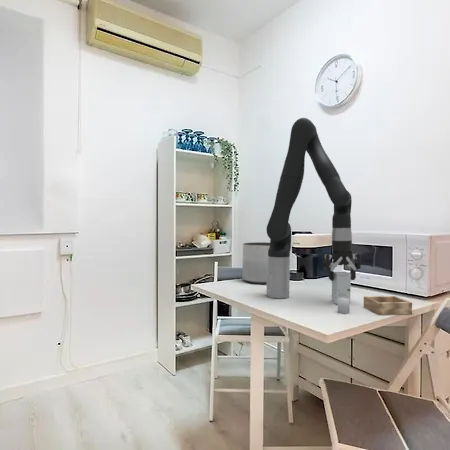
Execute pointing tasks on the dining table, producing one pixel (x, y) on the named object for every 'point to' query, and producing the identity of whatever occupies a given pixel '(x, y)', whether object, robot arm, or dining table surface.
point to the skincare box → (341, 286)
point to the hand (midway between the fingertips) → (342, 280)
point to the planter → (255, 262)
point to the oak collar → (387, 305)
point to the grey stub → (343, 305)
